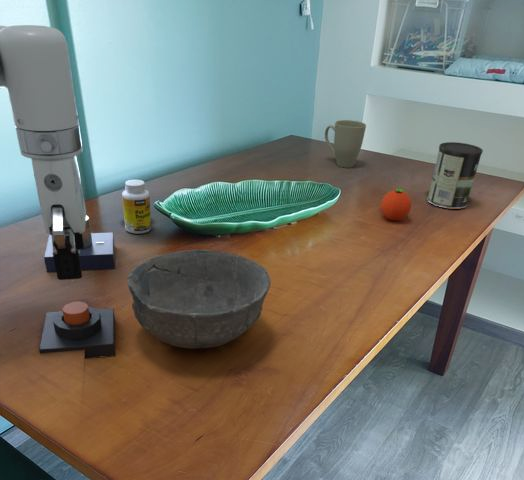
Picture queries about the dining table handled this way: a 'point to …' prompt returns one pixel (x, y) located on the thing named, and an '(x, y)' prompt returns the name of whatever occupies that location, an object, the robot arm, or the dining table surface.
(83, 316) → the orange short cylinder
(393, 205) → the clementine
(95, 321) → the button base
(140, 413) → the dining table surface
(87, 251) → the lock panel
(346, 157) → the mug
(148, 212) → the supplement bottle
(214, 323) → the bowl
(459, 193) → the coffee can
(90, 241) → the lock knob
